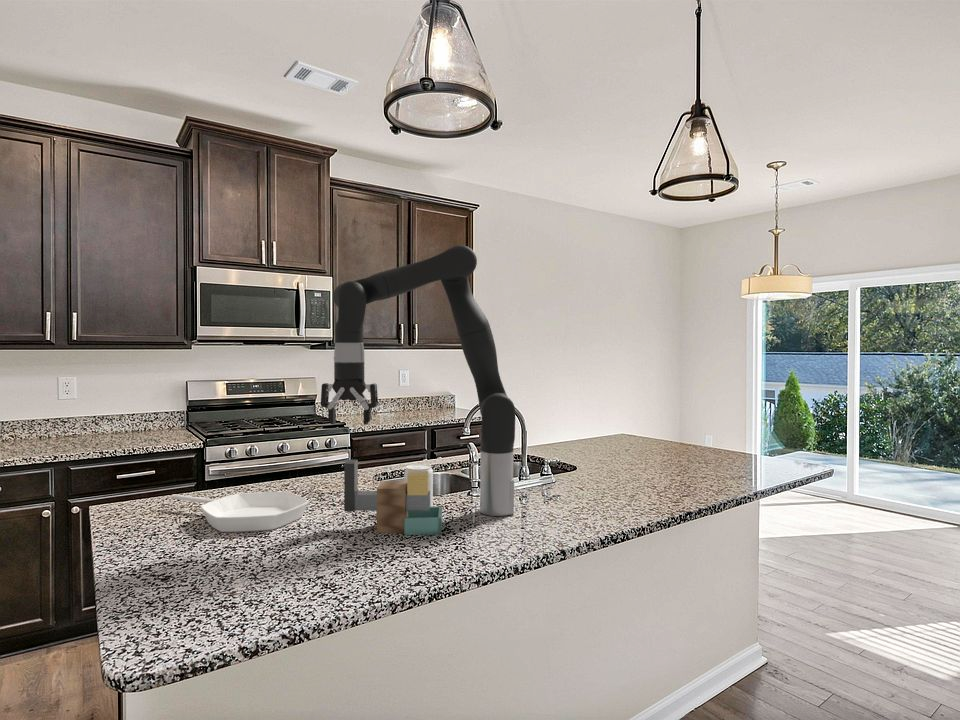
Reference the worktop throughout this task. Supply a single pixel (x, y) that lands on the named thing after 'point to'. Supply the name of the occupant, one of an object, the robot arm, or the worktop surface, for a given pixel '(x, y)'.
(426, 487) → the block
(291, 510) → the pan
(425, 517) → the tray
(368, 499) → the grey l-shaped block
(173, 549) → the worktop surface
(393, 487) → the block
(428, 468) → the beverage can
